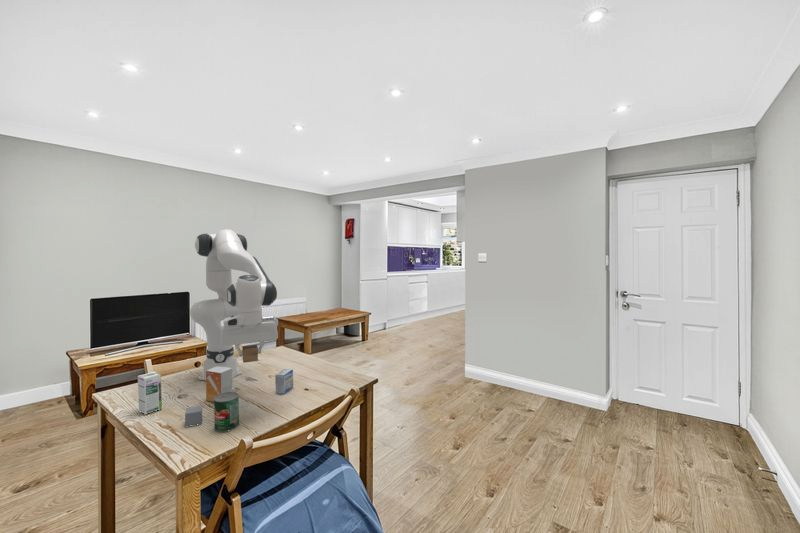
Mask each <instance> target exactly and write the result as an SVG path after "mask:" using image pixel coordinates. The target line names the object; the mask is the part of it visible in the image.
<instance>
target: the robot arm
mask: <svg viewBox="0 0 800 533" xmlns="http://www.w3.org/2000/svg"><path fill="white" fill-rule="evenodd" d="M194 248H195V251H196V253H197V254H198V256H201V257H206V263H205V278H206V279H205V282H206V283H205V285H206V288H207V289H208V290H210V291H212V292H215V293H216V294H217V295H218V298H214V299H204V300H201V301H197V302H195V303H193V304H192V305H191V308H190V310H189V311H190V312H189V313H190V317H191V319H192V321H193V322H194V323H196V324H198V325H200V327H202V328H203V330H204V332H205V335H206V343H207V347H206V352H205V354H206V359H205V360H204V361H203V363H202V365H203V366H202V372H201V374H200V375H199V376H198V380H199V381H202V380H203V381H206V371H207V370H209V369H211V368H214V367H217V366H220V367H227V368H232V379H233V378H235V377H236V376H239V375H241V374H242V371H241V369H240V368H239V367H238V358H237V357H236V356H235V355H234V354H235V352H234V351H235V349H236V350H237V354H238V357H243V350H242V349H240V345H246V344H253V343H260V346H259V347H258V355H259V354H262V349H263V348H264V346H265V342H271V341H273V342H274V341H277V340H278V338H279V331H278V326H279V319H278V317H276V316H273V315H272V316H265V317H264V316H263V308H262V307H265V306H266V307H267V306H271V305H272V304H274V302H275V301H276V299H277V297H278V291H277V287H276V286H275V284H274V283H273V281H271V280H270V279H269V276H268V275H267V273H266V272H265V270H264V268H263V267H262V266H261V263H260V262H259V261H258V259H257V258H256V257H255V256H253V255H252V254H250V253H249V252H248V240H247V238H246V237H245V235H243V234H240V233H239V234H238V233H236V231H234V230H233V229H229V228H228V229H227V228H225V229H221V230H219V231H218V232H217V233H201V234H199V235H198V236H196V239H195V242H194ZM232 270H234V271H241V272H244V273H247V274H245V275H244V274H243V275H241V276H238V277H237V281H236V283H233V279H232ZM221 323H223V325H222V324H221ZM234 346H235V349H234Z"/></svg>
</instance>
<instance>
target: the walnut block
mask: <svg viewBox="0 0 800 533" xmlns="http://www.w3.org/2000/svg"><path fill="white" fill-rule="evenodd" d="M241 348H242V349H241V350H243V356H242V362H243V363H250V362H251V363H252V362H253V363H254V362H257V361H258V362H259V354H258V348H259V347H258V345H257V344H249V345H242V346H241Z"/></svg>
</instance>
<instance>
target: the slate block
mask: <svg viewBox="0 0 800 533" xmlns="http://www.w3.org/2000/svg"><path fill="white" fill-rule="evenodd" d="M184 423H185V424H184V427H185V426H190V425H196V426H198V425H197V424H201V425H203V424H202V423H203V405H197V406H191V407H187V408H186V409H185V413H184Z"/></svg>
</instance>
